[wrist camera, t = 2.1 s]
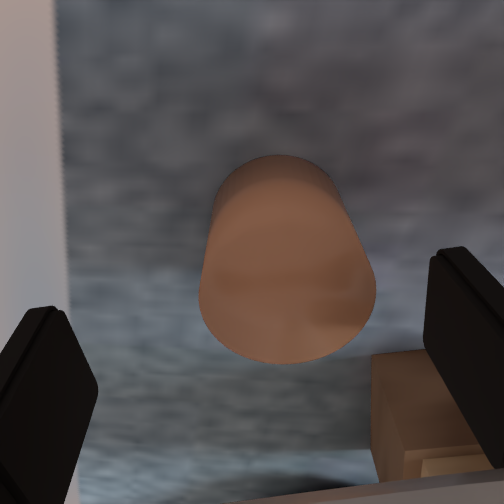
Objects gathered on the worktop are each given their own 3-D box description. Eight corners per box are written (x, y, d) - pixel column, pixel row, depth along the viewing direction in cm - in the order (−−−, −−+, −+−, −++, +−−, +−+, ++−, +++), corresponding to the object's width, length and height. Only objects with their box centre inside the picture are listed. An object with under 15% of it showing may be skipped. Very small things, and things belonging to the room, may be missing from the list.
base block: (527, 335, 19) (606, 432, 15) (502, 433, 23) (560, 534, 19) (370, 351, 20) (405, 450, 16) (369, 446, 23) (397, 547, 19)
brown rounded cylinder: (340, 146, 15) (378, 211, 10) (343, 264, 17) (374, 356, 13) (201, 164, 15) (181, 234, 11) (223, 277, 17) (215, 371, 13)
